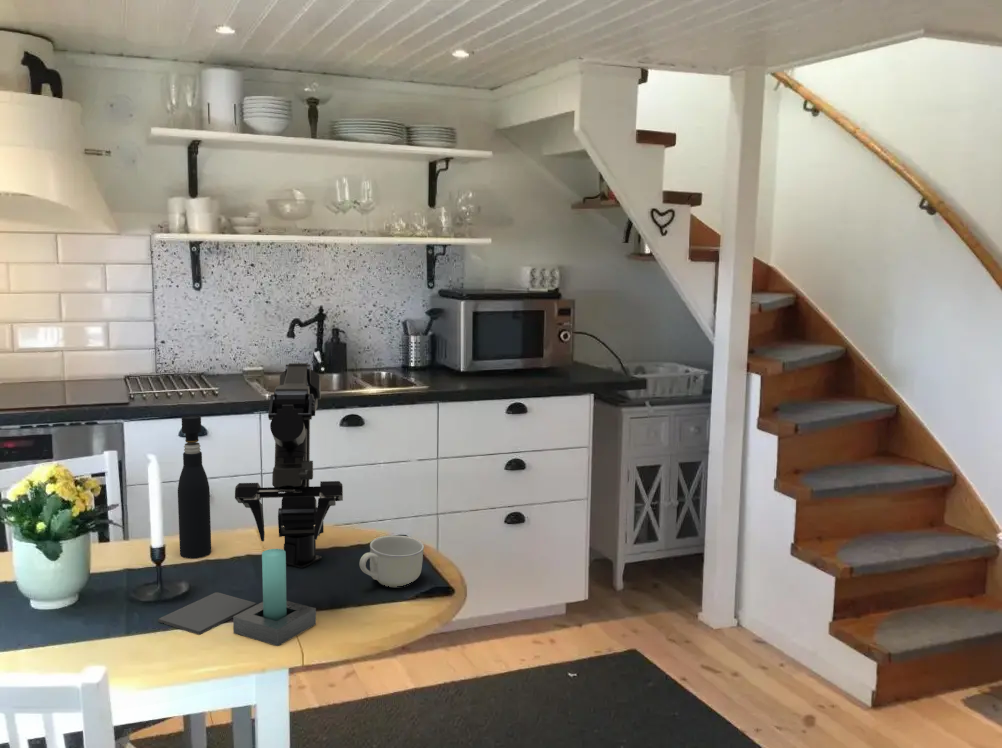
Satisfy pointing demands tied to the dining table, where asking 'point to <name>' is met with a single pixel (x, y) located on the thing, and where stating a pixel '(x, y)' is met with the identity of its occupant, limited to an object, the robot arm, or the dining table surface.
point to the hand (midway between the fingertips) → (289, 540)
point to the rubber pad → (206, 613)
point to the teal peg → (274, 584)
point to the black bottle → (193, 495)
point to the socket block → (274, 623)
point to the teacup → (394, 560)
